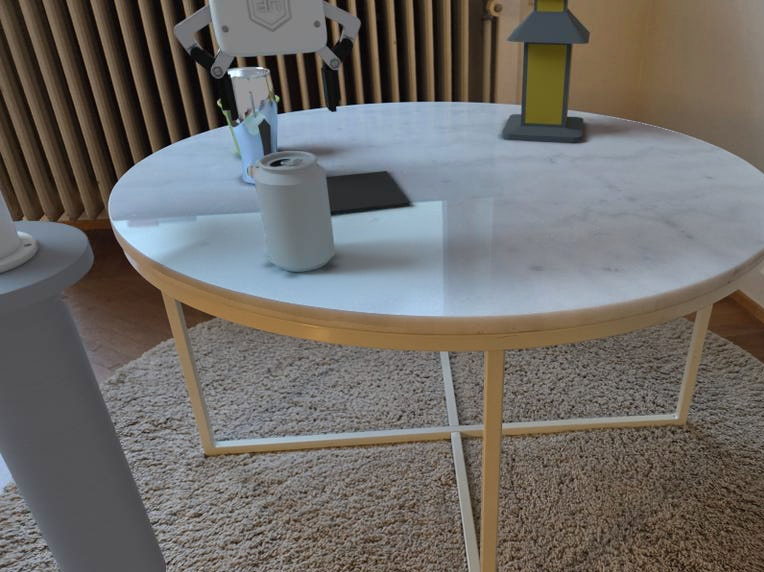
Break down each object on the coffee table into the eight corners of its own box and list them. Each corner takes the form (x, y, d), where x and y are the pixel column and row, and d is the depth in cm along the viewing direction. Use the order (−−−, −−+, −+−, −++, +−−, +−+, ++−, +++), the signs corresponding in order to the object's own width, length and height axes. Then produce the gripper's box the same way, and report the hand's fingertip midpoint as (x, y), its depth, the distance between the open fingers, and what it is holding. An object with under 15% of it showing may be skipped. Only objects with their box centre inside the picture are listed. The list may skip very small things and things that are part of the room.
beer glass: (234, 185, 99) (212, 76, 91) (246, 170, 105) (226, 66, 97) (282, 185, 99) (264, 76, 91) (291, 170, 105) (276, 66, 97)
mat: (306, 217, 89) (305, 214, 89) (293, 183, 100) (293, 180, 100) (409, 205, 93) (409, 202, 93) (386, 173, 104) (386, 170, 104)
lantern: (581, 143, 118) (599, -59, 102) (501, 139, 120) (506, -60, 103) (583, 122, 130) (599, -62, 113) (510, 118, 132) (516, -63, 115)
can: (294, 243, 82) (278, 144, 76) (347, 253, 80) (336, 152, 74) (256, 268, 77) (235, 163, 70) (312, 280, 74) (297, 172, 68)
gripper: (143, -87, 54) (194, 130, 64) (356, -88, 59) (375, 114, 69) (148, -87, 60) (194, 112, 70) (342, -89, 65) (360, 98, 74)
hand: (284, 113), depth 69 cm, fingers open, 9 cm apart
